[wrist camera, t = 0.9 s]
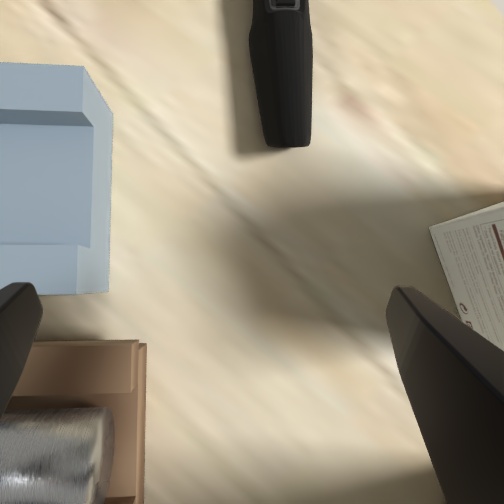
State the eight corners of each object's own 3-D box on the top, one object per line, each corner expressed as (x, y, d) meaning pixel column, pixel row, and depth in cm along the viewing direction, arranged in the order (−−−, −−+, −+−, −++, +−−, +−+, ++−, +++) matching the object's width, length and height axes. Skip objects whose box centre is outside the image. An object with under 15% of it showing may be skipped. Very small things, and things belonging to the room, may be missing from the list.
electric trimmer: (249, 165, 21) (255, 145, 18) (238, -92, 22) (242, -152, 19) (314, 164, 22) (331, 145, 19) (300, -89, 23) (314, -147, 20)
